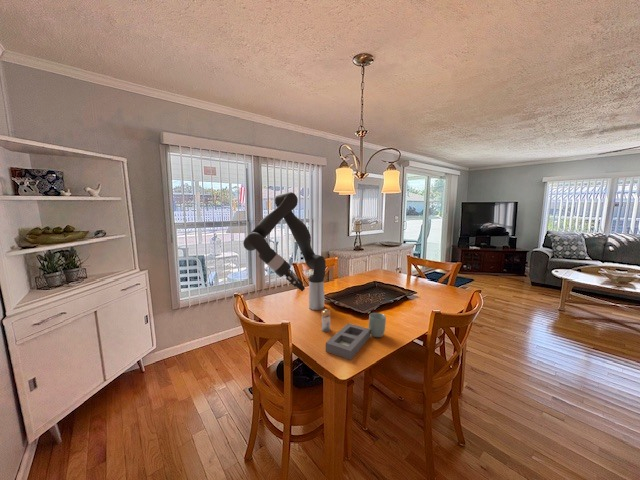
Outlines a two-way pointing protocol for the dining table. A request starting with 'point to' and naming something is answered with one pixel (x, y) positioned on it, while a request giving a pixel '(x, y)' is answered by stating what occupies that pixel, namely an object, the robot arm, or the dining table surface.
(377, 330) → the cup
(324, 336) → the dining table surface
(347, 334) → the rack
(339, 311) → the dining table surface
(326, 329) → the glass bottle
